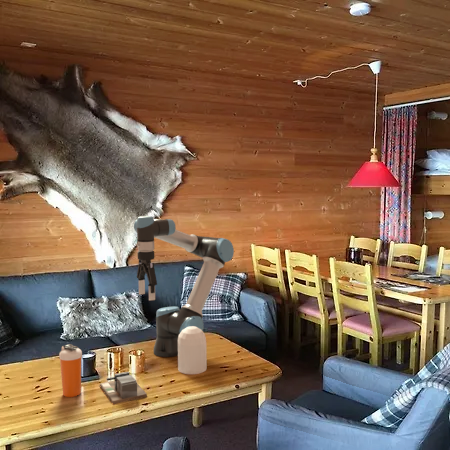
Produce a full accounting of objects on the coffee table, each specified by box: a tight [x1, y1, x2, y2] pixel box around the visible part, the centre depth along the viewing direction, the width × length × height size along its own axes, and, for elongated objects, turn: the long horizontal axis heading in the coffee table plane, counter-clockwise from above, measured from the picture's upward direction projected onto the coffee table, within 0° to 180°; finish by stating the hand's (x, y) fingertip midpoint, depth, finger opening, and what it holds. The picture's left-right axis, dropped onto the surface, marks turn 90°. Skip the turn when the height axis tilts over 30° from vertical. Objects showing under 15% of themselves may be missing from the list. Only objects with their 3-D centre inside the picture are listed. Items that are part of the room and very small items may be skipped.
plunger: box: [106, 371, 131, 389], centre depth 206 cm, size 9×9×6 cm
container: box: [177, 326, 208, 375], centre depth 235 cm, size 14×13×20 cm
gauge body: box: [99, 374, 148, 405], centre depth 210 cm, size 20×14×7 cm
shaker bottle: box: [58, 343, 83, 398], centre depth 208 cm, size 9×9×20 cm
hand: (146, 297), depth 230 cm, fingers open, 13 cm apart
